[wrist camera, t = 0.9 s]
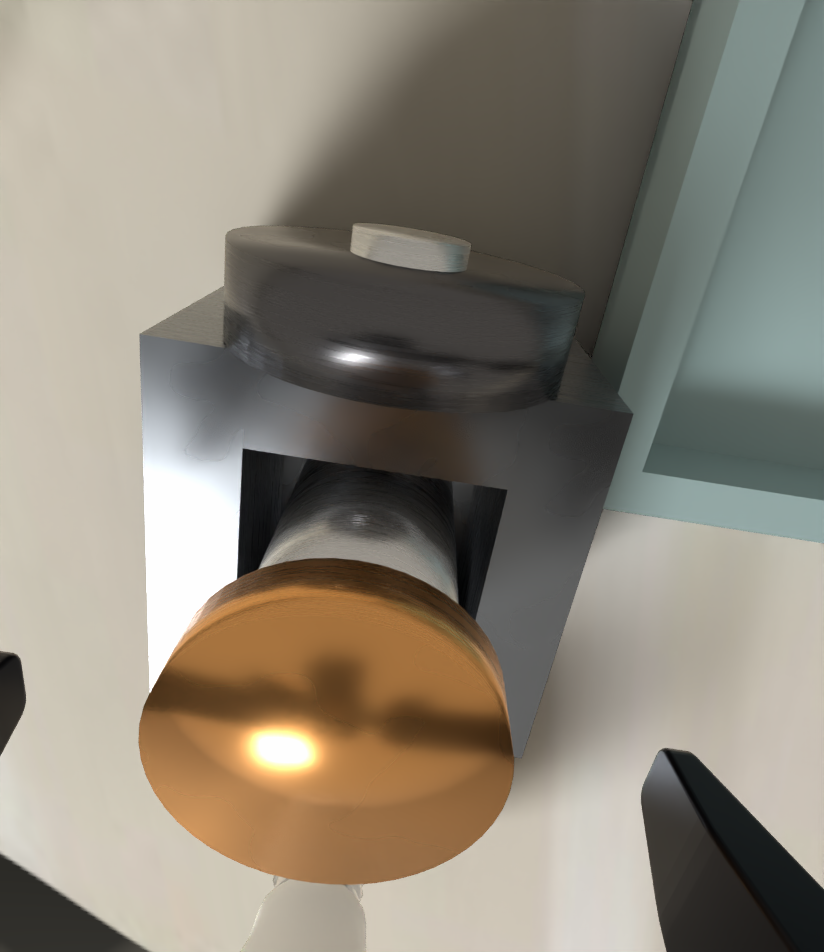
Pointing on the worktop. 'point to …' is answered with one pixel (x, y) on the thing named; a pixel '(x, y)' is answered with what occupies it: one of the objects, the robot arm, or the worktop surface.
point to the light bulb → (309, 919)
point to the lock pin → (337, 693)
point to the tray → (728, 282)
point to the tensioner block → (381, 422)
